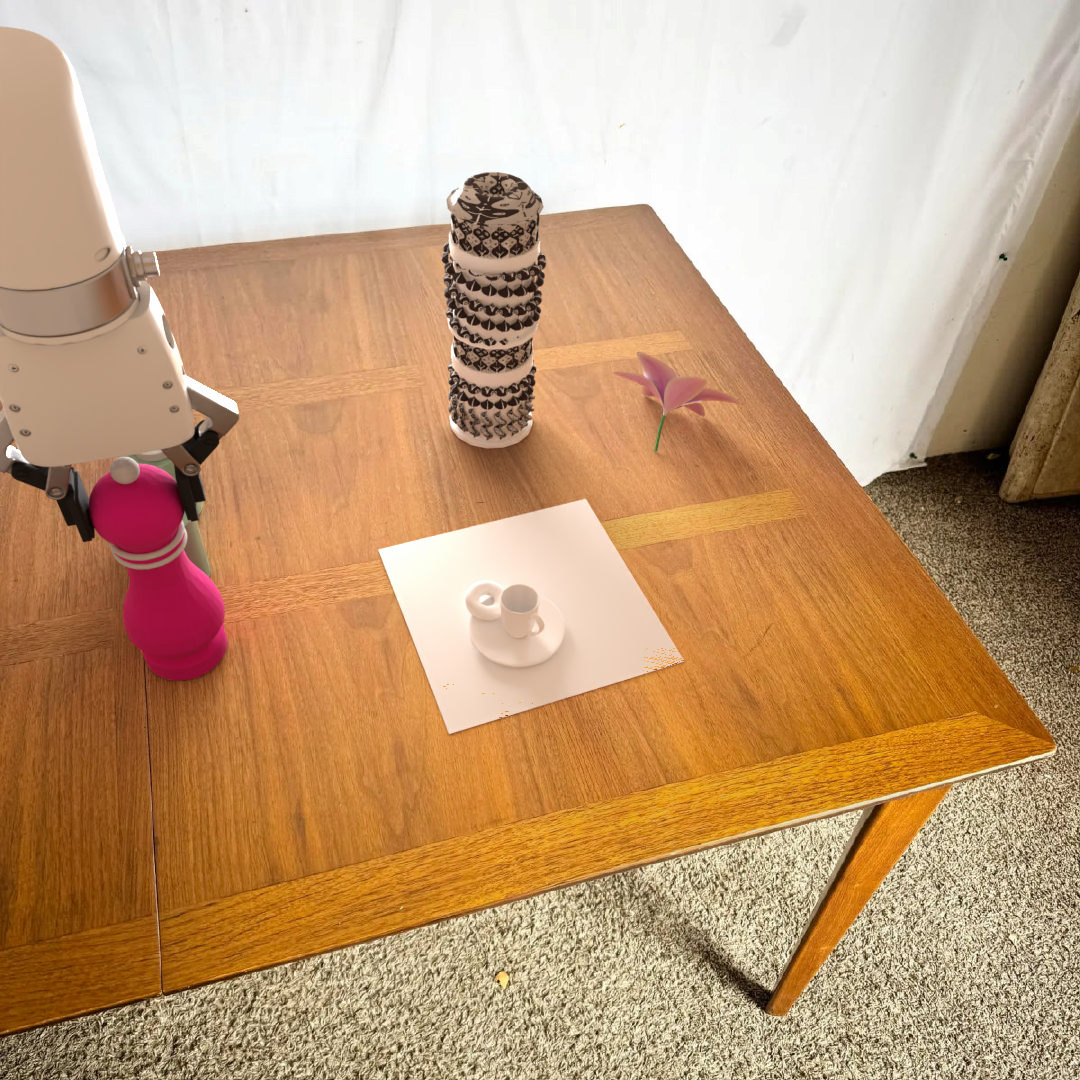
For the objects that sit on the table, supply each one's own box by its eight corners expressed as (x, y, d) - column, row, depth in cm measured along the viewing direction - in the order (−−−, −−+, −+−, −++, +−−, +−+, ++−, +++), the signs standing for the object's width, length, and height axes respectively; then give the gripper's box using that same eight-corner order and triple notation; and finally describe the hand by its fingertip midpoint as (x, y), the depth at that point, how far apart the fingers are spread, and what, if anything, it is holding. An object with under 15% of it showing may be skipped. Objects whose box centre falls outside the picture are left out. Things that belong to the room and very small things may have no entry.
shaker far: (139, 528, 85) (115, 460, 79) (151, 489, 88) (129, 421, 82) (197, 527, 85) (178, 460, 79) (207, 489, 89) (189, 421, 83)
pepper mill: (236, 609, 79) (184, 420, 65) (232, 681, 74) (175, 494, 60) (144, 618, 78) (70, 427, 63) (133, 692, 73) (51, 503, 59)
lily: (743, 461, 97) (763, 366, 94) (670, 467, 89) (689, 363, 86) (652, 434, 105) (668, 345, 102) (578, 437, 97) (593, 341, 94)
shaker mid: (144, 597, 79) (118, 530, 74) (156, 553, 83) (132, 485, 77) (206, 596, 80) (185, 529, 74) (215, 552, 83) (196, 484, 77)
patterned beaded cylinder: (459, 458, 93) (456, 219, 75) (435, 401, 99) (427, 166, 81) (548, 442, 96) (566, 206, 78) (519, 387, 102) (530, 156, 84)
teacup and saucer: (452, 600, 81) (451, 568, 78) (540, 577, 83) (542, 545, 80) (487, 681, 75) (488, 650, 72) (580, 654, 78) (584, 623, 75)
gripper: (215, 231, 57) (262, 459, 70) (-111, 268, 52) (4, 504, 65) (231, 299, 52) (278, 530, 65) (-127, 346, 48) (1, 584, 61)
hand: (140, 515), depth 65 cm, fingers closed on pepper mill, 6 cm apart
